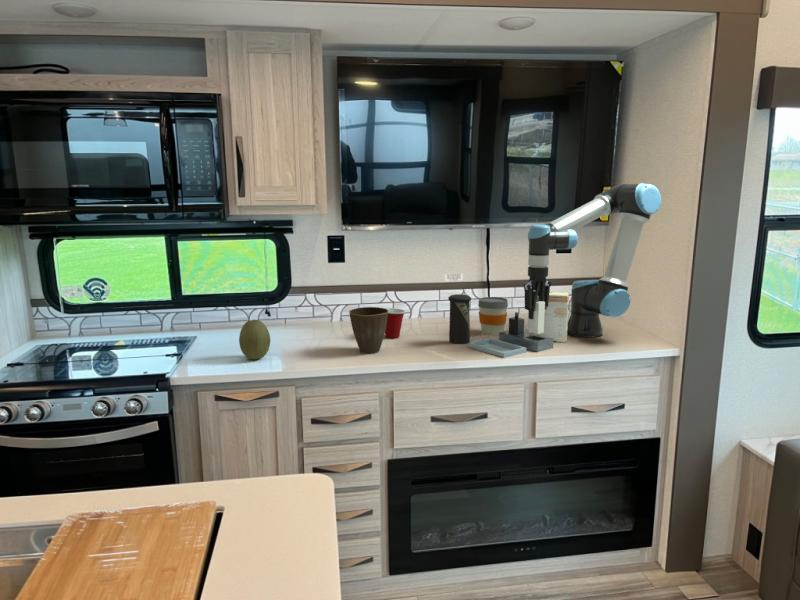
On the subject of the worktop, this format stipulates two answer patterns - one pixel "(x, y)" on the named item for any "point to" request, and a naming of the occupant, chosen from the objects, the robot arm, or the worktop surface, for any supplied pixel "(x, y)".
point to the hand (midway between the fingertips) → (535, 326)
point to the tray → (497, 347)
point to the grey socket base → (524, 336)
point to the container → (459, 319)
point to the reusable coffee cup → (492, 314)
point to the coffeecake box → (556, 317)
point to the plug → (538, 317)
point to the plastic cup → (394, 322)
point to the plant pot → (369, 327)
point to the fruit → (254, 339)
